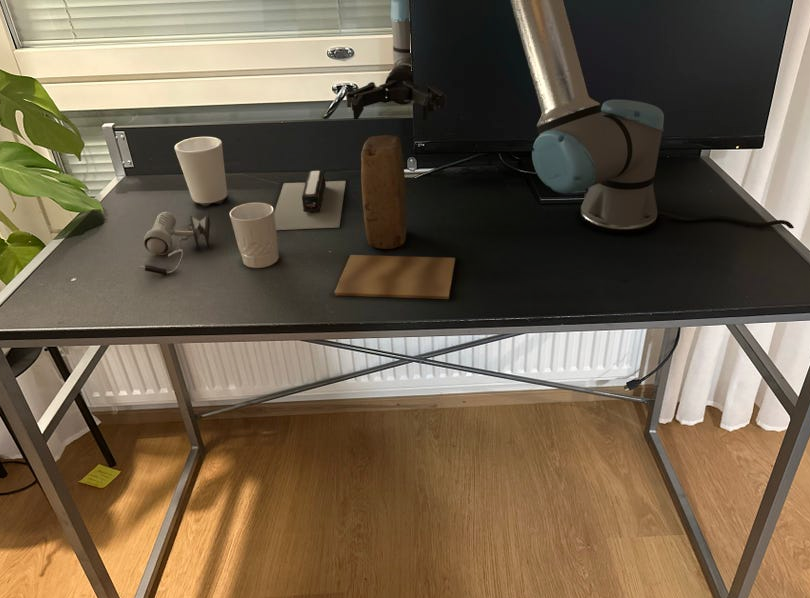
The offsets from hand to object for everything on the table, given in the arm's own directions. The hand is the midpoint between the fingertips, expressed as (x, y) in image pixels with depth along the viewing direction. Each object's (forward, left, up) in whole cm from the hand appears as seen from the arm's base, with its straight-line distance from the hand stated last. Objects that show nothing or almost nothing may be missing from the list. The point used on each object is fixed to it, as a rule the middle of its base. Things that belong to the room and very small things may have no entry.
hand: (389, 112), depth 134 cm
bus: (+20, -5, -22) cm, 30 cm away
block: (0, +11, -22) cm, 24 cm away
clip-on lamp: (+40, +20, -22) cm, 50 cm away
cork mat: (-4, +26, -22) cm, 34 cm away
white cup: (+23, +21, -22) cm, 38 cm away
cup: (+43, -6, -22) cm, 49 cm away
